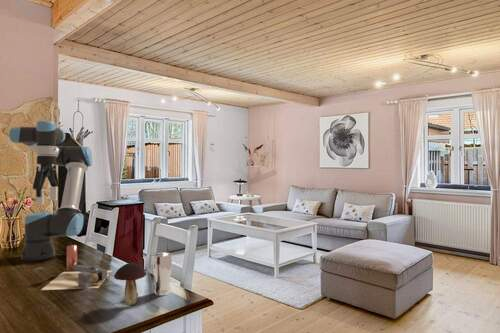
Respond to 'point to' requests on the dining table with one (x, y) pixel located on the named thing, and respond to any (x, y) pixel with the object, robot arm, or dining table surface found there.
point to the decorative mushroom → (130, 280)
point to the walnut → (94, 277)
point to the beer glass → (162, 273)
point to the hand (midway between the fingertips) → (46, 202)
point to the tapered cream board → (74, 281)
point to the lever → (74, 266)
